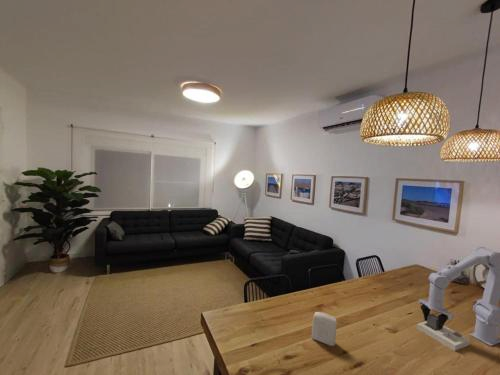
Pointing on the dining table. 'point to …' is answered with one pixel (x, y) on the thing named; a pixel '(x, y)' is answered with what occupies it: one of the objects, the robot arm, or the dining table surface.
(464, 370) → the dining table surface
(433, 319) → the plug
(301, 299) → the dining table surface
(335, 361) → the dining table surface
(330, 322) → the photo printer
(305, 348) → the dining table surface
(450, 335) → the sorting tray
